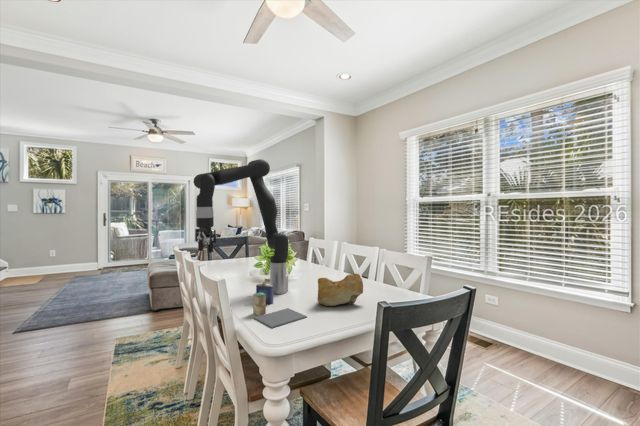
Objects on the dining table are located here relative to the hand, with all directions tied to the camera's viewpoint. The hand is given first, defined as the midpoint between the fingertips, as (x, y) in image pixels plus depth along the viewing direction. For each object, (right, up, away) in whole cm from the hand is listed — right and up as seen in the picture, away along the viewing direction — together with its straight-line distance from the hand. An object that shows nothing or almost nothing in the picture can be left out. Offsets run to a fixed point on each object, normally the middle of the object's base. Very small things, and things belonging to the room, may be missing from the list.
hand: (205, 251), depth 143 cm
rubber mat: (+36, -28, -9) cm, 46 cm away
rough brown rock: (+63, -28, +14) cm, 70 cm away
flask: (+25, -28, +12) cm, 39 cm away
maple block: (+26, -28, -3) cm, 38 cm away
